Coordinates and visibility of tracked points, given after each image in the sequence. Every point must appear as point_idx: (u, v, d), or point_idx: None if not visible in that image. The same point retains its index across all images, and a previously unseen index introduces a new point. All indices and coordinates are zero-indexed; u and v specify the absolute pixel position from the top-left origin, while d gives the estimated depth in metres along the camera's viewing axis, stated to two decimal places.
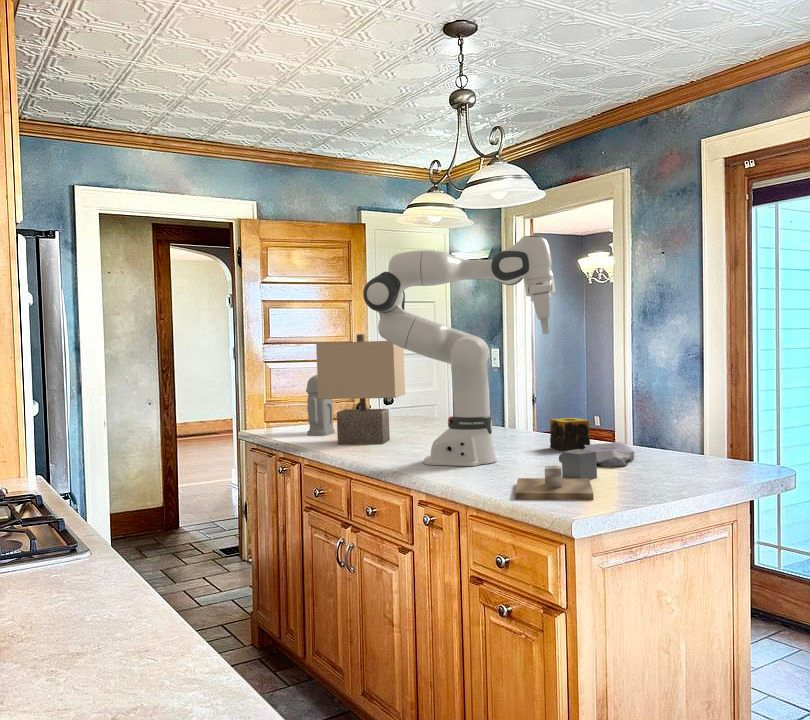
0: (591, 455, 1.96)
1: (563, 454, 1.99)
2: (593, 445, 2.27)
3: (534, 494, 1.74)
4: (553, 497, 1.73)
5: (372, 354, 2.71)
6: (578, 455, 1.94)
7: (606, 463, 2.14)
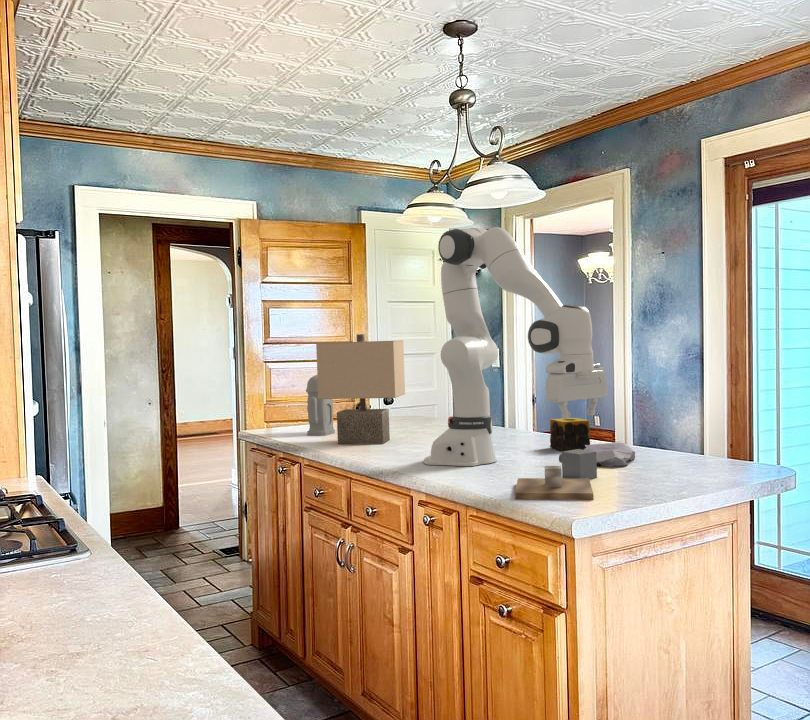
0: (591, 455, 1.96)
1: (563, 454, 1.99)
2: (594, 445, 2.27)
3: (534, 494, 1.74)
4: (553, 497, 1.73)
5: (372, 354, 2.71)
6: (578, 455, 1.94)
7: (607, 463, 2.14)
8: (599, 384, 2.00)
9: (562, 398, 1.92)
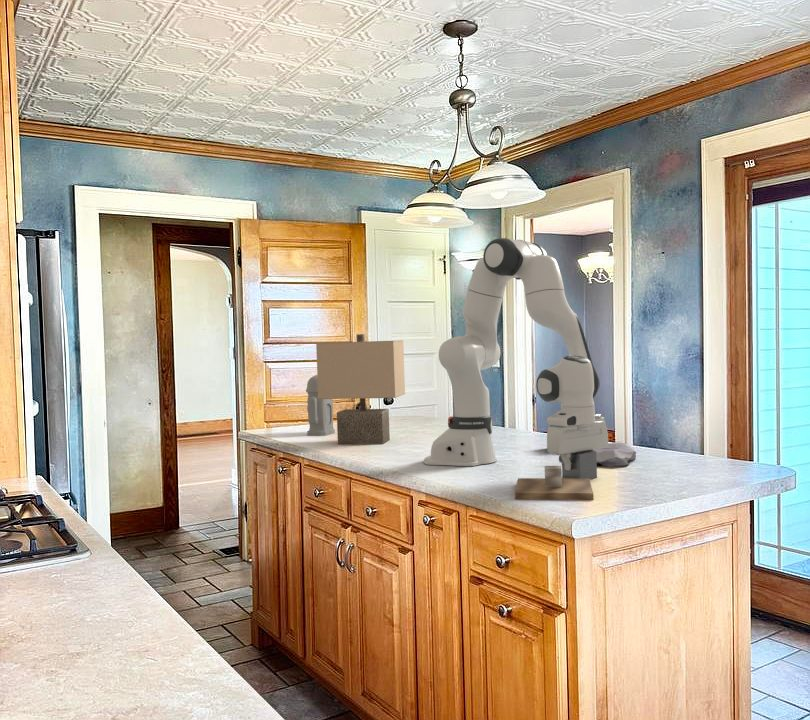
0: (591, 455, 1.96)
1: None
2: None
3: (534, 494, 1.74)
4: (553, 497, 1.73)
5: (372, 354, 2.71)
6: (578, 455, 1.94)
7: (608, 462, 2.14)
8: (600, 435, 2.00)
9: (563, 451, 1.92)
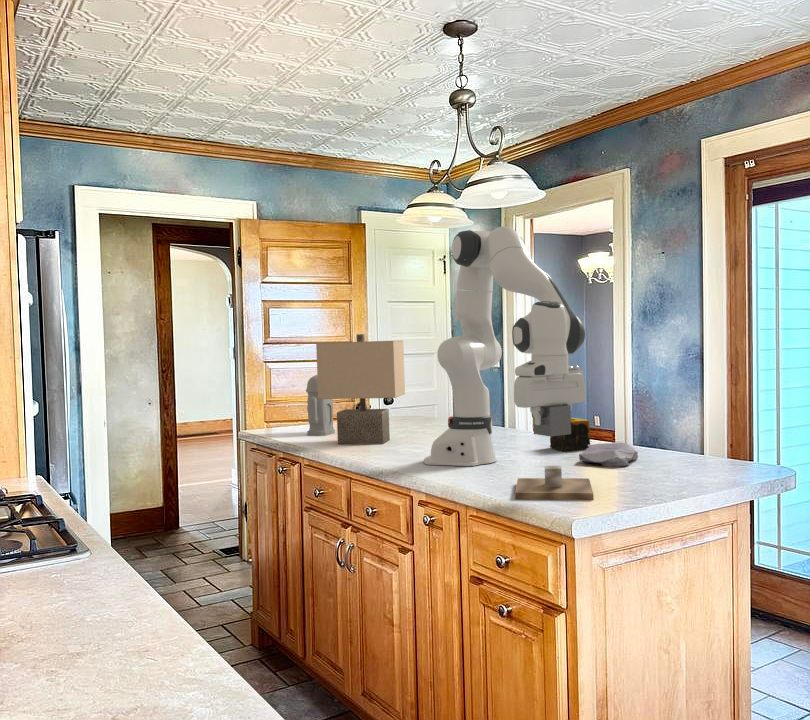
0: (564, 409, 1.79)
1: None
2: (596, 445, 2.27)
3: (534, 494, 1.74)
4: (553, 497, 1.73)
5: (372, 354, 2.71)
6: (548, 408, 1.77)
7: (608, 463, 2.14)
8: (576, 388, 1.83)
9: (530, 403, 1.76)
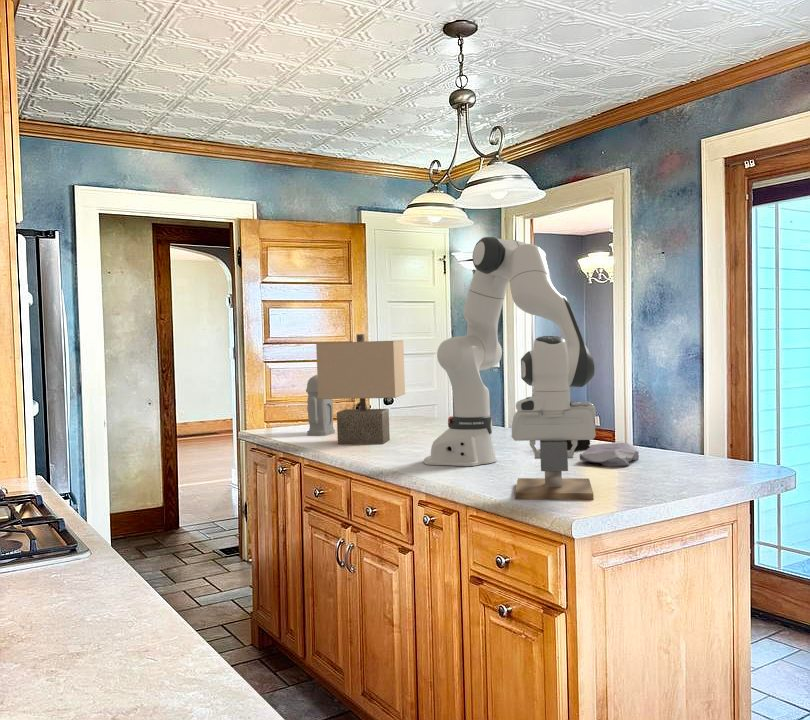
0: (559, 445, 1.78)
1: None
2: (597, 445, 2.27)
3: (534, 494, 1.74)
4: (553, 497, 1.73)
5: (372, 354, 2.71)
6: (540, 443, 1.80)
7: (609, 462, 2.14)
8: (580, 425, 1.79)
9: (521, 437, 1.81)
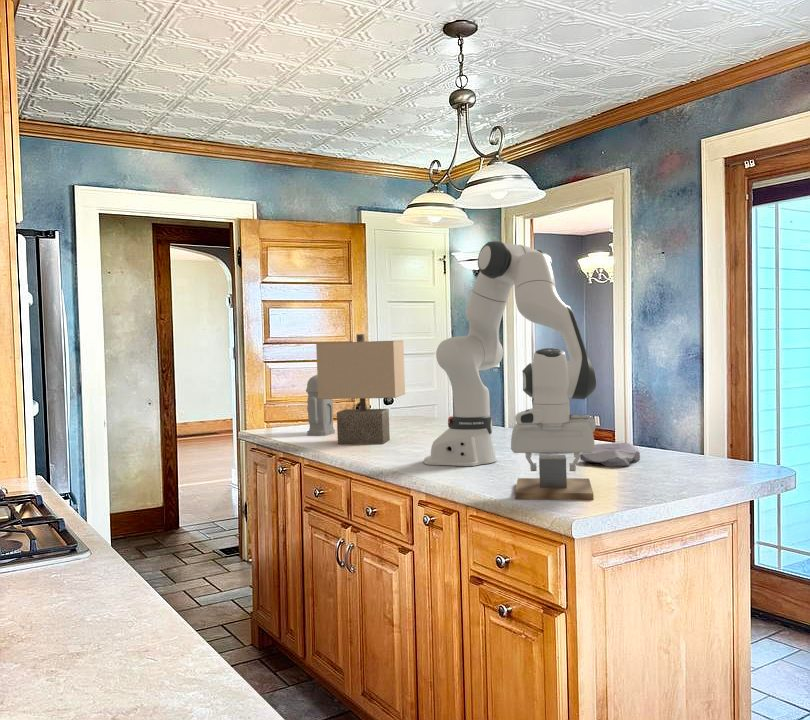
0: (558, 462, 1.78)
1: None
2: (599, 445, 2.27)
3: (534, 494, 1.74)
4: (553, 497, 1.73)
5: (372, 354, 2.71)
6: (539, 460, 1.80)
7: (609, 462, 2.14)
8: (579, 438, 1.79)
9: (520, 449, 1.82)
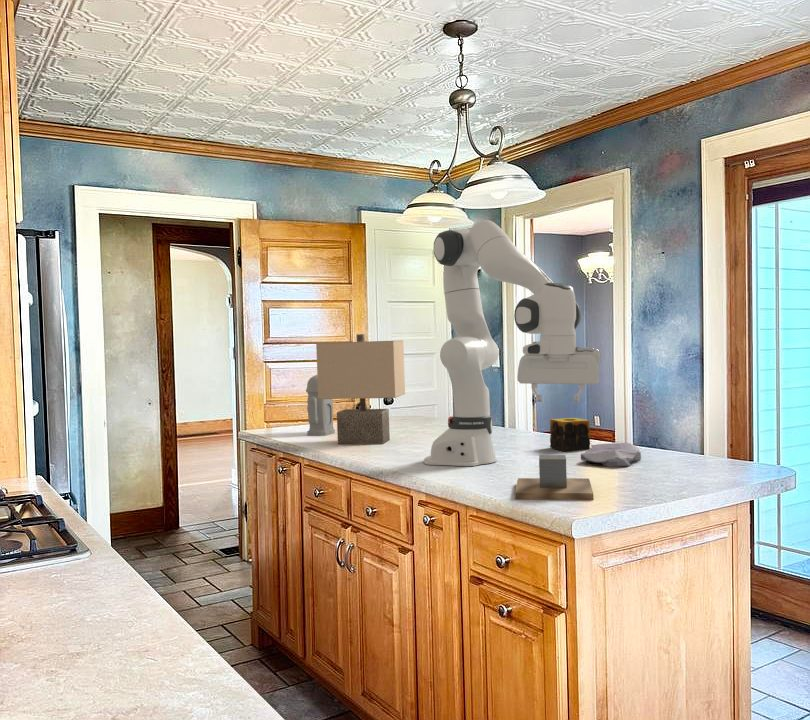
0: (558, 462, 1.78)
1: None
2: (600, 445, 2.27)
3: (534, 494, 1.74)
4: (553, 497, 1.73)
5: (372, 354, 2.71)
6: (539, 460, 1.80)
7: (609, 463, 2.14)
8: (584, 369, 1.84)
9: (526, 380, 1.87)
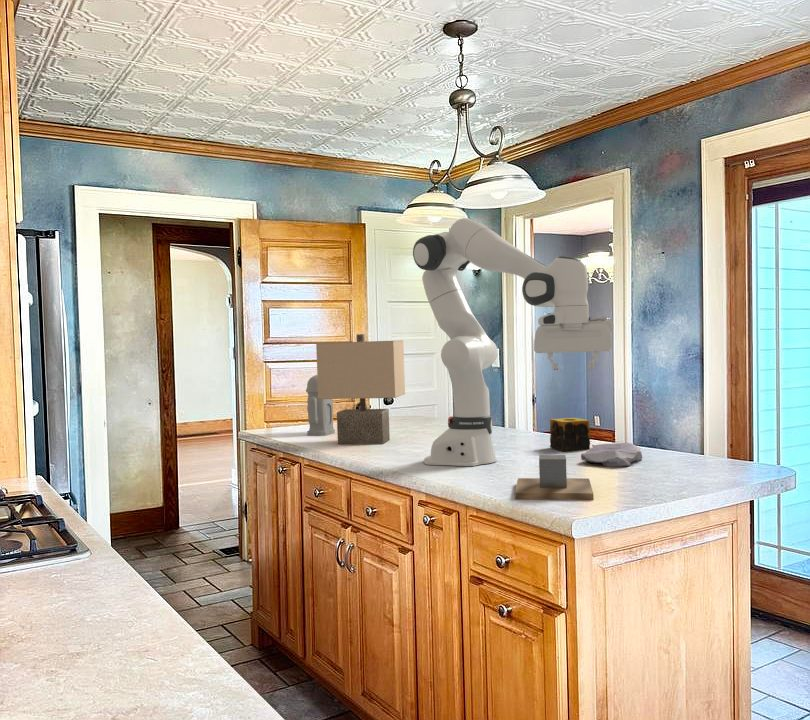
0: (558, 462, 1.78)
1: None
2: (601, 445, 2.27)
3: (534, 494, 1.74)
4: (553, 497, 1.73)
5: (372, 354, 2.71)
6: (539, 460, 1.80)
7: (609, 462, 2.14)
8: (598, 337, 1.93)
9: (542, 349, 1.95)
